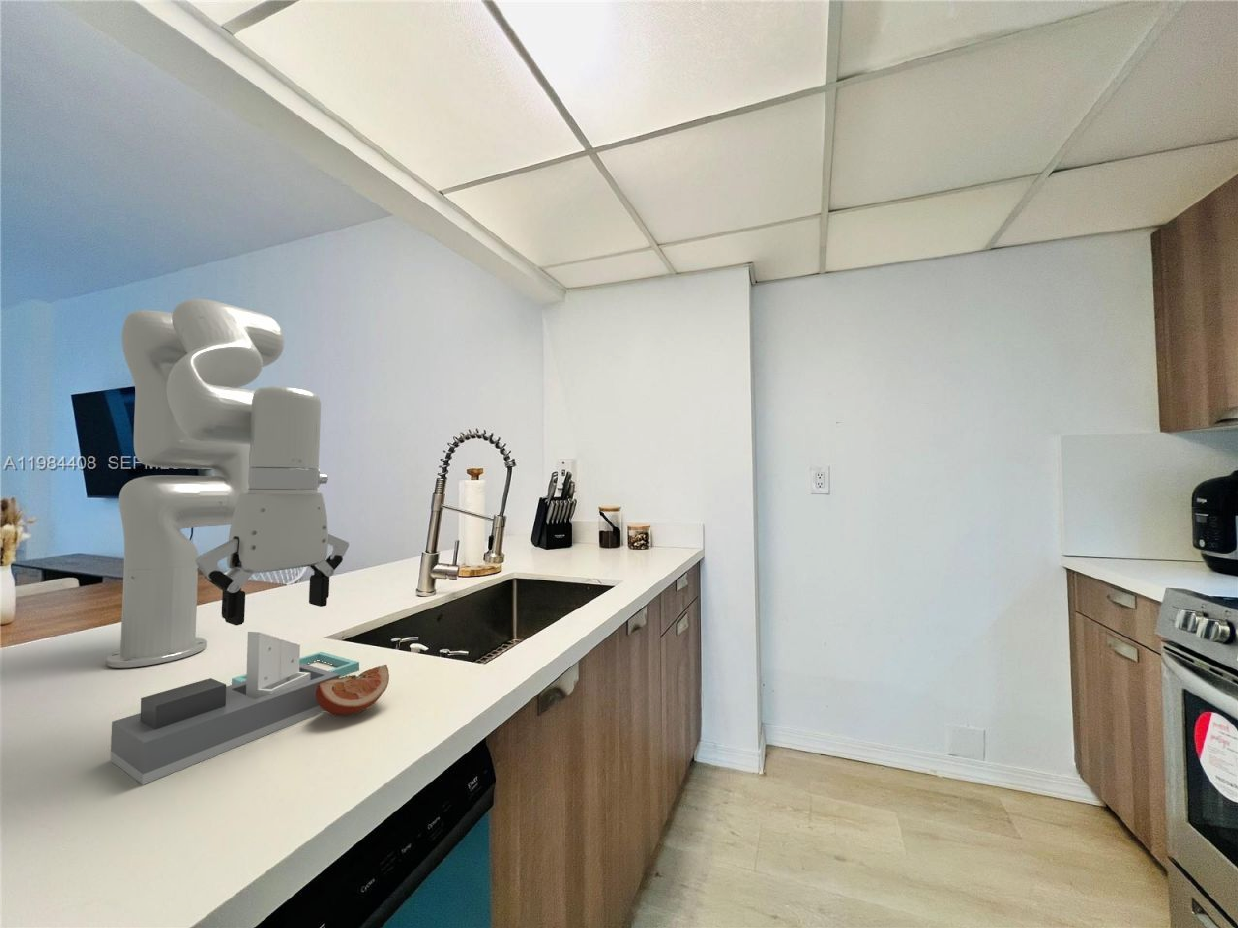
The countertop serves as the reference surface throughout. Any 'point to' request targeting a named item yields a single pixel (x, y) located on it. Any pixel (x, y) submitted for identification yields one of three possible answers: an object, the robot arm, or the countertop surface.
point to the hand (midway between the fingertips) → (278, 613)
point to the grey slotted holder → (206, 723)
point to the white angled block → (271, 665)
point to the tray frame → (343, 664)
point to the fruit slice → (352, 691)
